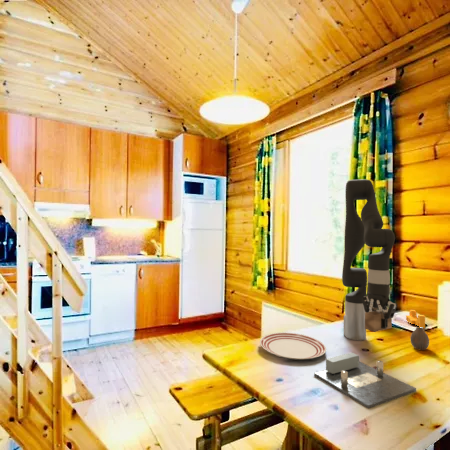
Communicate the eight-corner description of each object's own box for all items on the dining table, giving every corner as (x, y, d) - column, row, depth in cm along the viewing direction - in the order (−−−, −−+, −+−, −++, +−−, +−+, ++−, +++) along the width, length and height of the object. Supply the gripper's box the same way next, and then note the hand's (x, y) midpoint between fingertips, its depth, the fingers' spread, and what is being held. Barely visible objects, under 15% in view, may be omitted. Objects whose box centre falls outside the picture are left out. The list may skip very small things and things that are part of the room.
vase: (406, 345, 138) (406, 325, 138) (421, 345, 139) (421, 325, 139) (417, 351, 131) (417, 330, 131) (433, 351, 132) (433, 330, 132)
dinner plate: (337, 350, 132) (337, 342, 132) (305, 372, 112) (305, 363, 112) (282, 335, 151) (282, 328, 151) (246, 351, 131) (246, 343, 131)
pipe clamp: (406, 321, 175) (406, 309, 175) (414, 321, 174) (414, 310, 174) (416, 328, 163) (416, 315, 163) (425, 328, 162) (425, 316, 162)
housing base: (314, 377, 108) (314, 359, 108) (358, 364, 118) (358, 349, 118) (368, 410, 88) (368, 389, 88) (416, 392, 98) (416, 373, 98)
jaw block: (364, 328, 116) (364, 312, 116) (382, 324, 121) (382, 309, 121) (374, 332, 113) (374, 315, 113) (391, 327, 118) (391, 312, 118)
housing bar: (326, 370, 109) (326, 358, 109) (352, 363, 115) (352, 352, 115) (332, 373, 107) (332, 362, 107) (358, 366, 112) (358, 355, 112)
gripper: (356, 279, 122) (355, 322, 122) (389, 285, 109) (389, 334, 109) (369, 277, 125) (369, 320, 125) (403, 283, 112) (402, 331, 112)
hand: (378, 326), depth 117 cm, fingers closed on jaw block, 4 cm apart
